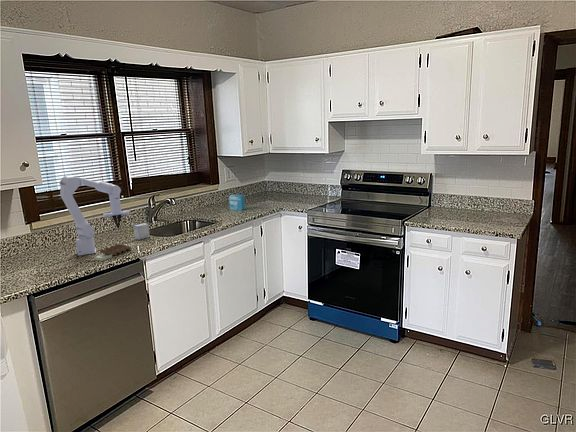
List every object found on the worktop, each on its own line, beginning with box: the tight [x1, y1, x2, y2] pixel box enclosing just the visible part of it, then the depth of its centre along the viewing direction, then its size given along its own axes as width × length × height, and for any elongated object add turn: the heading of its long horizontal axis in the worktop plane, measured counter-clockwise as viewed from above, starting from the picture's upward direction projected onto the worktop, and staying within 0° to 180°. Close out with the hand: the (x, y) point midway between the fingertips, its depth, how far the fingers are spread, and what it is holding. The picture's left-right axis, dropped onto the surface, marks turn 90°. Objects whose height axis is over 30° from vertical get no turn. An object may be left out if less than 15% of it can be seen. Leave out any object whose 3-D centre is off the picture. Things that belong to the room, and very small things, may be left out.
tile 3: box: [104, 247, 123, 254], centre depth 240 cm, size 2×5×7 cm
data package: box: [228, 194, 246, 211], centre depth 352 cm, size 12×4×12 cm, turn 63°
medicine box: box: [133, 222, 150, 240], centre depth 273 cm, size 8×4×9 cm, turn 141°
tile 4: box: [99, 249, 118, 256], centre depth 237 cm, size 2×5×7 cm
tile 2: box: [109, 245, 127, 253], centre depth 243 cm, size 2×5×7 cm
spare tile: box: [94, 253, 113, 262], centre depth 234 cm, size 2×5×7 cm
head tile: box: [114, 243, 132, 251], centre depth 246 cm, size 2×5×7 cm
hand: (118, 227), depth 259 cm, fingers closed
